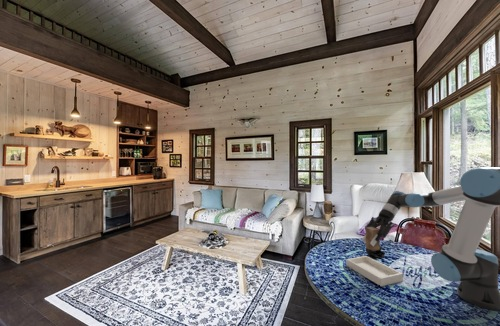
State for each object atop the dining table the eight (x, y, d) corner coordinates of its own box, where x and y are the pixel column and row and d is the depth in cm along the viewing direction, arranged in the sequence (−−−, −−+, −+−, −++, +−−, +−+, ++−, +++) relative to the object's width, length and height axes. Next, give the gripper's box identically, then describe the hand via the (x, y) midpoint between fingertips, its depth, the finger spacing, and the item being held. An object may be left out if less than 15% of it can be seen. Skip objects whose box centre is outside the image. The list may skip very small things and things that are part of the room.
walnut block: (379, 249, 123) (379, 229, 123) (373, 251, 121) (372, 230, 122) (372, 246, 128) (372, 226, 128) (365, 247, 126) (365, 227, 126)
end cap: (376, 252, 153) (376, 243, 153) (385, 256, 146) (385, 247, 146) (365, 255, 149) (365, 245, 149) (374, 259, 142) (374, 249, 142)
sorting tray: (402, 281, 116) (402, 273, 116) (381, 286, 110) (380, 278, 110) (366, 261, 138) (366, 255, 138) (346, 265, 133) (346, 259, 133)
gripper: (406, 220, 121) (385, 253, 116) (378, 213, 138) (358, 241, 133) (399, 211, 119) (377, 244, 114) (372, 205, 136) (351, 234, 131)
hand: (367, 243), depth 123 cm, fingers closed on walnut block, 5 cm apart
